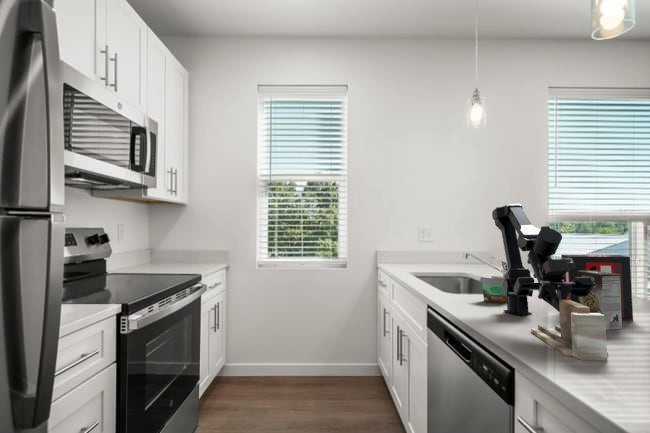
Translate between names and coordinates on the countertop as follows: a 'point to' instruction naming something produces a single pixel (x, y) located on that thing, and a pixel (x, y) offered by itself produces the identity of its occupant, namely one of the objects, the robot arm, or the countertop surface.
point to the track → (579, 337)
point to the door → (569, 316)
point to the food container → (493, 290)
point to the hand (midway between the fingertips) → (564, 313)
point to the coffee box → (604, 297)
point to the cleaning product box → (610, 265)
